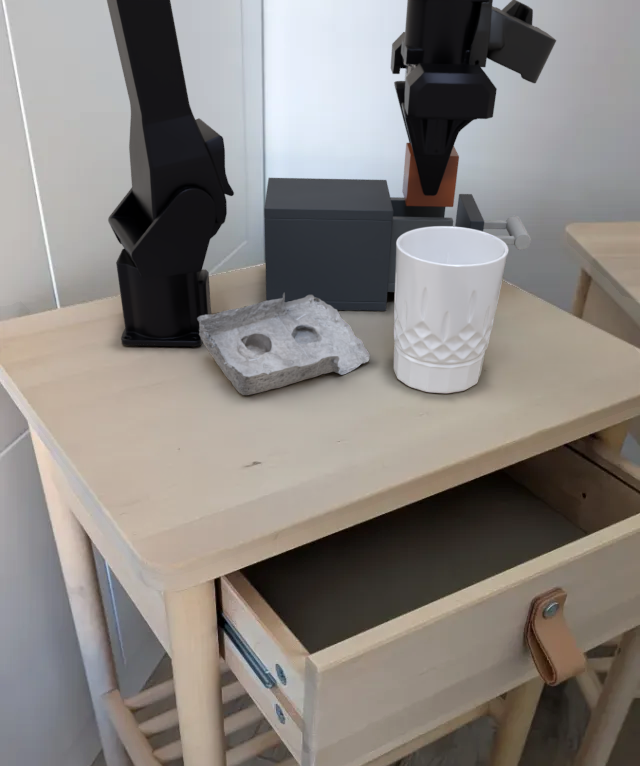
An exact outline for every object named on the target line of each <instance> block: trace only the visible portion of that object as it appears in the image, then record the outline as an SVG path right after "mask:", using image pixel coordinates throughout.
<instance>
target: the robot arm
mask: <svg viewBox="0 0 640 766" xmlns="http://www.w3.org/2000/svg"><path fill="white" fill-rule="evenodd" d="M406 1H407V2H406V16H405V29H404V31H403V32H401V34H400V35H399V36H398V37H397V38H396V39H395V40H394V41H393V42H392V43H391V54H390V55H391V57H390V58H391V59H390V70H391V73H392V75H400V72H401V69H405V70H404V71H405V72H404V80H396V81H394V82H393V84H394V85H393V86H394V89H395V92H396V97H397V101H398V104H399V108H400V112H401V116H402V121H403V124H404V127H405V132H406V136H407V139H408V143H411V146H412V150H413V154H414V158H415V162H416V166H417V170H418V174H419V178H420V182H421V186H422V190H423V194H424V195H426V196H435V195H436V194H437V193H438V190H439V187H440V184H441V181H442V178H443V175H444V172H445V169H446V166H447V163H448V161H449V158H450V155H451V152H452V149H453V146H454V147H455V142H456V140H457V138H458V137H459V134H460V132H461V131H462V130H463V129H464V128H465V127H467V126H468V125H469V124H470V123H472V122H473V121H476V120H478V119H479V120H488V119H491V118H493V117H494V113H495V112H494V111H495V104H496V97H497V90H498V89H497V87H496V86H495V84H494V83H493V81H492V80H491V79H490V77H489V76H488V74H486V72H485V71H484V70H483V68H486V67H487V59H488V60H490V61H492V62H493V63H495V64H498V65H500V66H502V67H504V68H507V69H509V70H510V71H513V72H515V73H517V74H519V75H520V77H521V78H522V80H525V81H527V82H529V83H531V84H536V83H537V82H538V80H539V77H540V76H541V73H542V71H543V69H544V68H545V65H546V63H547V61H548V60H549V57H550V55H551V53H552V51H553V49H554V47H555V45H556V43H557V39H555V38H554V37H553V36H552V35H551V34H549V33H547V31H545V30H542V29H541V28H540V27H538V26H535V25H533V19H534V18H533V17H534V11H533V8H532V7H530V6H529V5H527V4H525V3H523V2H521V1H518V0H510V1H509V2H508V3H507V4H506V5H505V6H504V7H503V8H502V9H501V8H499V7H496V6H493V4H494V3H493V2H494V0H406ZM106 3H107V8H108V12H109V17H110V21H111V26H112V31H113V34H114V39H115V42H116V47H117V48H116V49H117V52H118V56H119V60H120V64H121V69H122V75H123V78H124V82H125V88H126V91H127V95H128V99H129V105H130V122H129V143H128V150H129V151H128V153H129V166H130V179H131V187H130V189H129V190H128V191H127V193H126V194H125V196H124V197H123V198H122V200H121V201H120V202H119V203H118V204H117V206H116V207H115V208H114V210H113V211H112V212H111V214H110V215H109V216H108V219H107V221H108V224H109V226H110V228H111V230H112V232H113V234H114V236H115V238H116V240H117V242H118V243H119V244H120V245H121V246H122V249H121V252H120V253H119V255H118V258H117V260H116V262H115V264H116V272H117V278H118V286H119V293H120V294H119V295H120V301H121V309H122V316H123V323H124V330H123V331H122V334H121V337H120V342H121V345H123V346H150V347H151V346H152V347H153V346H155V347H161V346H163V347H199V346H201V345H202V344H203V341H202V340H201V337H200V335H199V333H200V332H199V330H200V329H199V328H200V327H199V321H198V320H197V318H198V317H199V316H202V315H211V314H212V304H211V303H212V301H211V288H210V272H209V271H208V270H207V269H203V266H204V263H205V259H206V256H207V252H208V248H209V245H210V241H211V239H212V238H213V237H215V236H216V235H217V233H218V232H219V230H220V228H221V227H222V225H224V224H225V222H226V219H227V213H228V207H227V203H228V202H227V198H226V195H227V196H229V197H233V196H234V195H235V192H234V189H233V188H232V187H231V185H230V183H229V180H228V176H227V173H226V150H225V149H226V148H225V141H224V137H223V136H222V135H220V133H218V132H217V131H216V130H215V129H213V128H212V127H211V126H210V125H208V124H207V123H206V122H205V121H203V120H202V118H198V117H197V118H195V116H194V112H193V111H192V107H191V104H190V100H189V94H188V90H187V84H186V79H185V74H184V67H183V61H182V57H181V51H180V45H179V40H178V34H177V29H176V25H175V18H174V14H173V13H174V12H173V8H172V3H171V0H106Z"/></svg>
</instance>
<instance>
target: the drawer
mask: <svg viewBox="0 0 640 766" xmlns="http://www.w3.org/2000/svg"><path fill="white" fill-rule="evenodd" d="M390 198H391V203H392V208H393V220H392V221H393V222H392V236H391V249H390V263H389V277H388V291H387V293H395V267H396V241H397V239H398V238H399V237H400V236H401V235H402V234H404V233H406V232H408V231H411V230H414V229H418V228H424V227H433V226H453V227H463V228H470V229H475V230H479V231H483V232H484V230H506V231H507V233H508V235H495V236H496V237H498V238H499V239H501V240H502V241H504V242H505V243H506V245H507V246H514V247H515V249H517V250H518V251H525V250H528V248H529V247H530V246H531V243H532V237H531V236H530V234H529V232H528V231H527V229H526V227H525V225H524V223H523V222H522V220H521V218H520V217H519V216H517V215H510V216H509V217H507V218H506V220H491V219H489V220H488V219H484V217H483V215H482V213H481V211H480V208H479V206H478V205H477V202H476V200H475V198H474V196H473V194H472V193H459V194H458V197H457V206H456V207H457V208H456V215H455V222H454V219H453V217H445V216H446V215H445V214H446V207H426V206H406V203H405V199H404V197H399V196H398V197H394V196H393V197H391V196H390ZM454 223H455V224H454Z"/></svg>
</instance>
